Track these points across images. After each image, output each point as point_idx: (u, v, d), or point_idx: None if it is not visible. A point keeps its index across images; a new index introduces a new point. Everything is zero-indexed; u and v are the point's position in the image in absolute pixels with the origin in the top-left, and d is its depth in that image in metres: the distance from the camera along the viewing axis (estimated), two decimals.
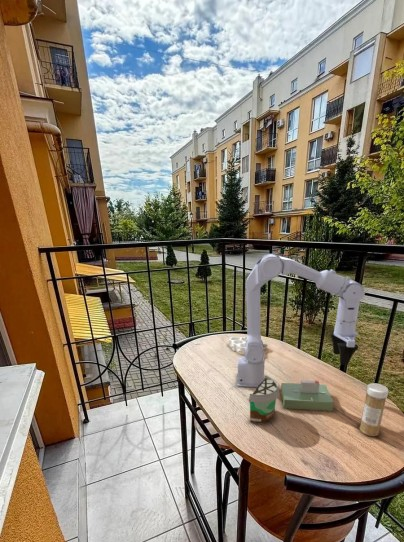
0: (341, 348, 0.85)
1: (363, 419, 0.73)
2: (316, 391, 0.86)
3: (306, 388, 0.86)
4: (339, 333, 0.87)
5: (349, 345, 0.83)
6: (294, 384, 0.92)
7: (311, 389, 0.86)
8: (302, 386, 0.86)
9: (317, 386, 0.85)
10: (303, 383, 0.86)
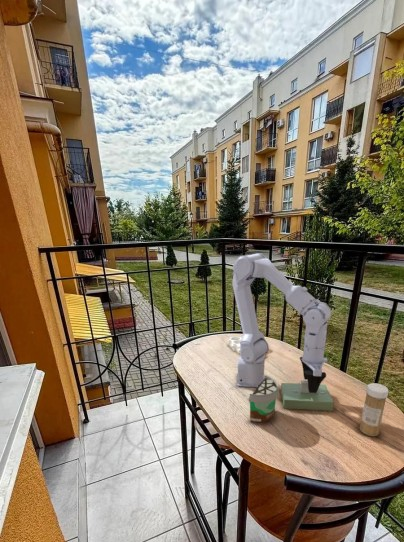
0: (308, 376, 0.79)
1: (363, 419, 0.73)
2: None
3: (306, 388, 0.86)
4: (307, 360, 0.82)
5: (315, 374, 0.77)
6: (294, 384, 0.92)
7: None
8: (302, 386, 0.86)
9: None
10: (303, 383, 0.86)
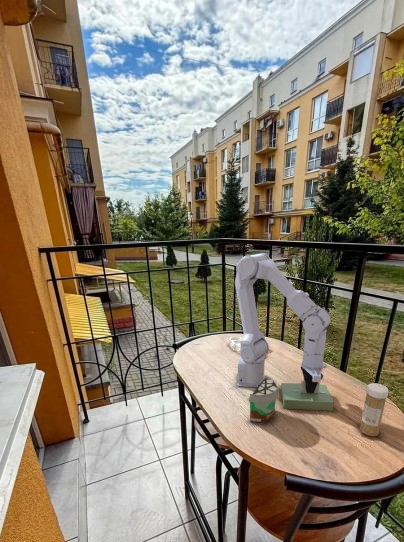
0: (305, 377, 0.82)
1: (363, 419, 0.73)
2: (316, 391, 0.86)
3: None
4: (306, 365, 0.82)
5: (315, 380, 0.78)
6: (294, 384, 0.92)
7: None
8: (302, 386, 0.86)
9: (317, 386, 0.85)
10: (303, 383, 0.86)
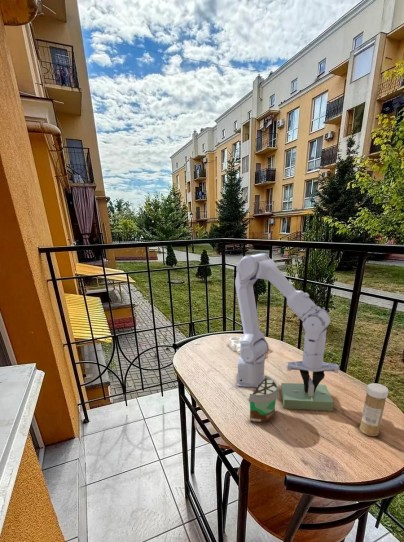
0: None
1: (363, 419, 0.73)
2: None
3: None
4: (320, 366, 0.82)
5: None
6: (294, 384, 0.92)
7: None
8: (313, 389, 0.84)
9: None
10: (313, 386, 0.84)
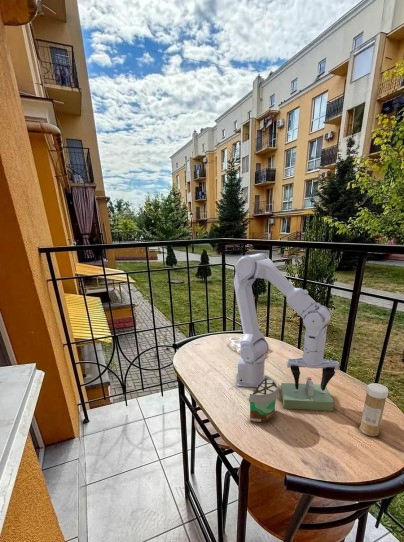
0: None
1: (363, 419, 0.73)
2: None
3: None
4: (321, 363, 0.81)
5: None
6: (294, 384, 0.92)
7: None
8: (313, 389, 0.84)
9: None
10: (313, 386, 0.84)
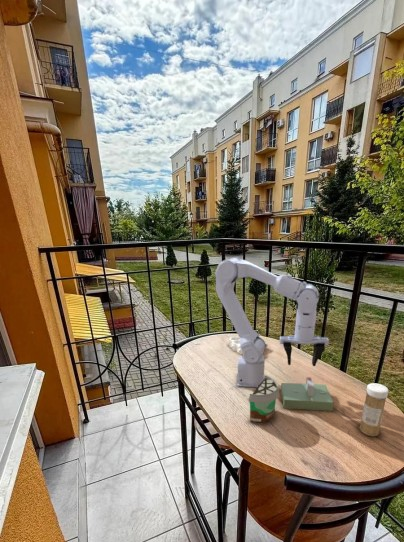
0: None
1: (363, 419, 0.73)
2: None
3: None
4: (311, 339, 0.86)
5: None
6: (294, 384, 0.92)
7: None
8: (313, 389, 0.84)
9: None
10: (313, 386, 0.84)
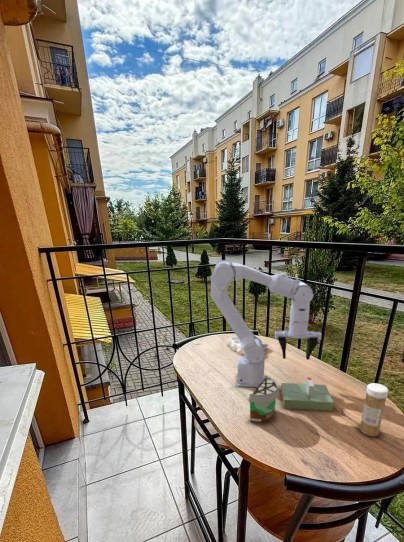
0: None
1: (363, 419, 0.73)
2: None
3: None
4: (305, 333, 0.90)
5: None
6: (294, 384, 0.92)
7: None
8: (313, 389, 0.84)
9: None
10: (313, 386, 0.84)
